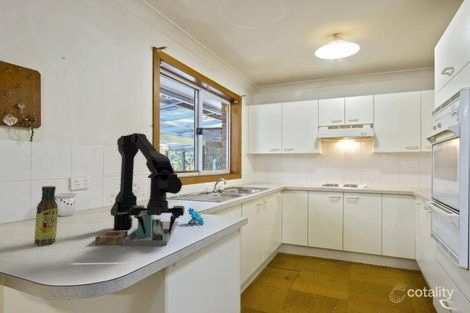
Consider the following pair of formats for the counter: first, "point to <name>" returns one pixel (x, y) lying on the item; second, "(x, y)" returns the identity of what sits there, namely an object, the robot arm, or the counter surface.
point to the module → (148, 227)
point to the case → (146, 241)
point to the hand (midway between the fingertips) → (157, 234)
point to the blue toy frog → (195, 216)
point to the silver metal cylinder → (157, 229)
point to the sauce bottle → (46, 217)
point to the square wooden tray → (111, 238)
